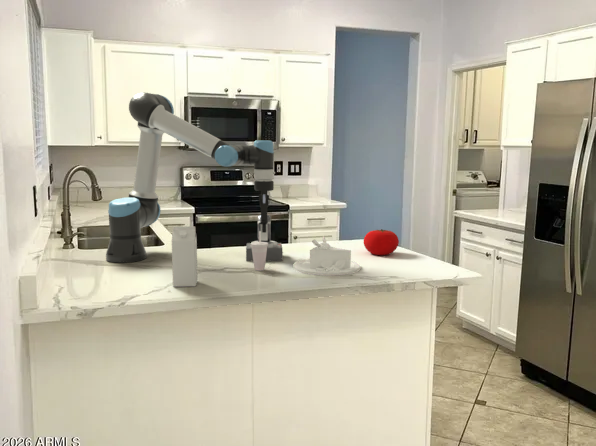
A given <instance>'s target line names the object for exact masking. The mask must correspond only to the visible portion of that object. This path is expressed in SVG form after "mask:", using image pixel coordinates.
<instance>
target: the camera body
mask: <svg viewBox="0 0 596 446" xmlns="http://www.w3.org/2000/svg"><path fill="white" fill-rule="evenodd" d="M250 242H251V243H252V242H259V241H258V240H254V241H250ZM250 242H247V243H246V247H245V260H246V262H253V255H252V247H251V243H250ZM267 243H268V247H267V254H266V262H283V245H282V244H283V243H282V242H277V241H275V240H270V242H267Z"/></svg>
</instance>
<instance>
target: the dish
mask: <svg viewBox="0 0 596 446" xmlns="http://www.w3.org/2000/svg"><path fill="white" fill-rule="evenodd" d="M311 242H312V243H313V245H314V246H315V247H313V248H311V249H309V258H304V259H300V260H297V261H295V262H293V263H292V264H293V265H292V269H293V270H294V271H295V272H298V273H302V274H305V275H306V274H307V275H313V276H324V277H325V276H326V277H328V276H329V277H330V276H332V277H333V276H345V275H351V274H354V273H357V272H358V271H360V270H361V264H360V263H358V262H357V261H354V260H352V250H351V249H345V248H339V247H336V246H335V247H334V246H331V245H330V244H329V243H328V242H327V239H326V237H325V236H324V235H322V242H320V243H319V241H317V239H313V240H312V241H311Z"/></svg>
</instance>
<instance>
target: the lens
mask: <svg viewBox="0 0 596 446" xmlns="http://www.w3.org/2000/svg"><path fill="white" fill-rule="evenodd" d="M267 221H268V223H267V224H268V241H261V242H270V241H271V222H272V220H271V215H269V214H267ZM259 222H261V214H259V215H257V241H259V231H261V224H259Z"/></svg>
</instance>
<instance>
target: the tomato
mask: <svg viewBox="0 0 596 446" xmlns="http://www.w3.org/2000/svg"><path fill="white" fill-rule="evenodd" d="M399 243H400V240H399V237H398V236H397V234H396V233H395V232H393V231H391V230H389V229H388V230H387V229H375V230H370V231H369V232H367V233H366V234H365V236H364V238H363V245H364V248H365V250H367V251H368V252H369V253H370V254H371V255H375V256H387V255H388V256H389V255H390V254H392V253H393V252H395V250H396V249H397V248H398V246H399Z"/></svg>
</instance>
